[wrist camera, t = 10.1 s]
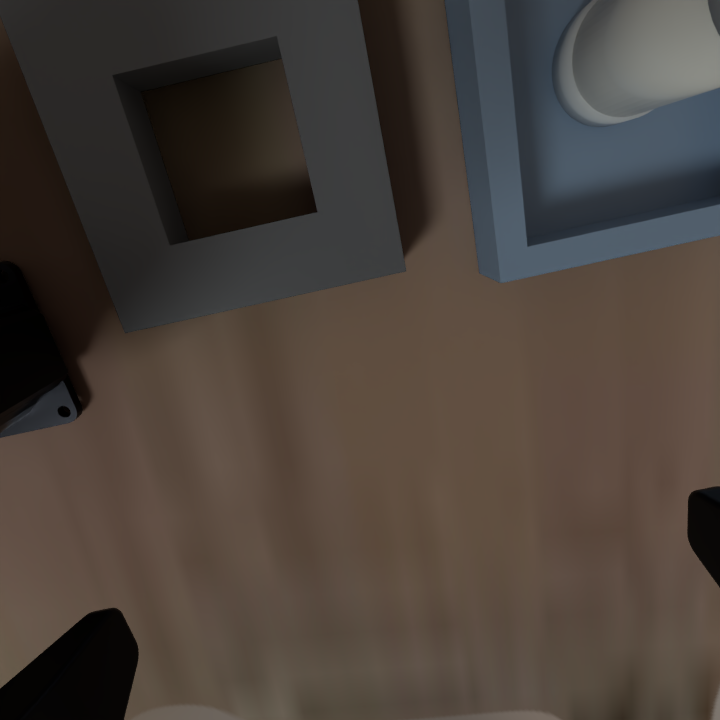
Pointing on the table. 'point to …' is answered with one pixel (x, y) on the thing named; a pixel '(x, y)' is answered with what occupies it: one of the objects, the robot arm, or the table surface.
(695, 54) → the grey rounded piece
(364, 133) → the grey flat square frame
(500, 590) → the table surface
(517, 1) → the parts tray
